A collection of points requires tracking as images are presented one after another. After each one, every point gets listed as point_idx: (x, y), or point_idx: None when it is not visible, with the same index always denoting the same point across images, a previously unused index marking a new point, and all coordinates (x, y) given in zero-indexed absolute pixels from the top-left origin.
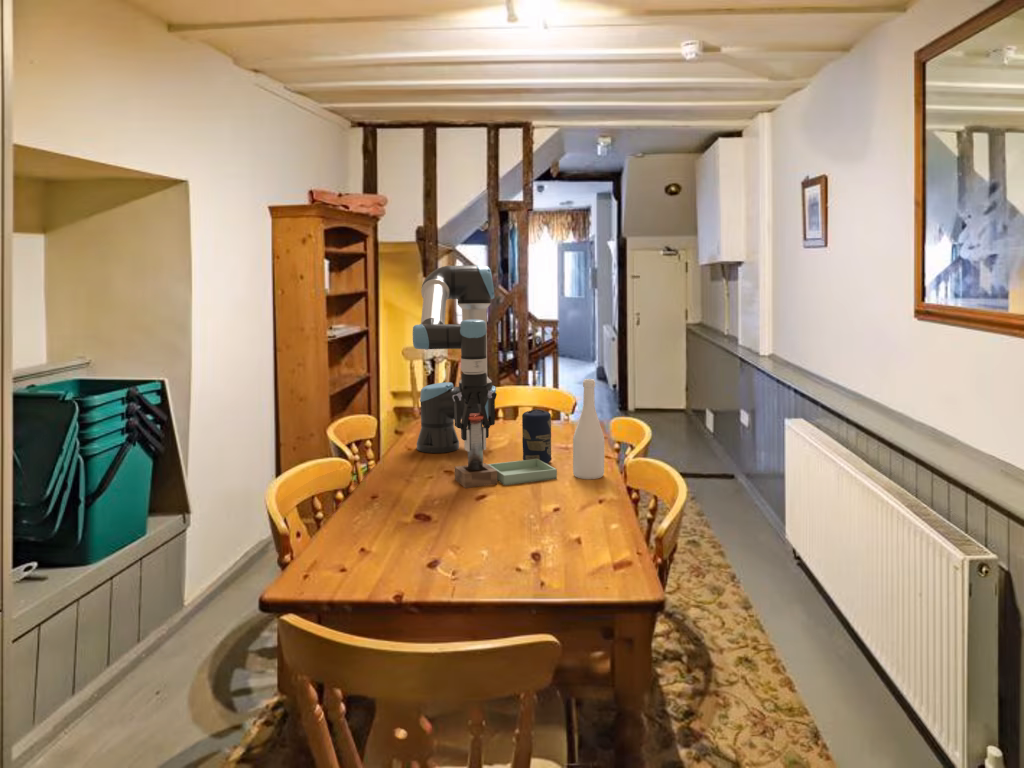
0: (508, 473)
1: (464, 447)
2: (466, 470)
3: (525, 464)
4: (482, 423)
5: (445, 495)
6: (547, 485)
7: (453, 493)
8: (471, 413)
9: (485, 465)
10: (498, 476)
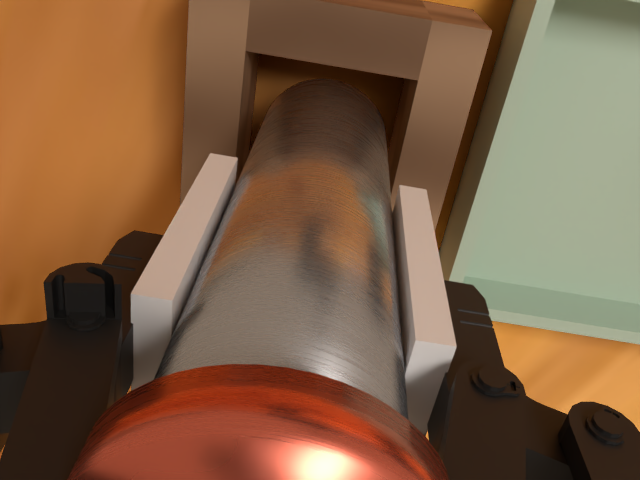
0: (622, 104)
1: (205, 164)
2: (233, 150)
3: None
4: (452, 393)
5: (46, 254)
6: (624, 389)
7: (99, 247)
8: (266, 451)
9: (444, 102)
10: (462, 204)
